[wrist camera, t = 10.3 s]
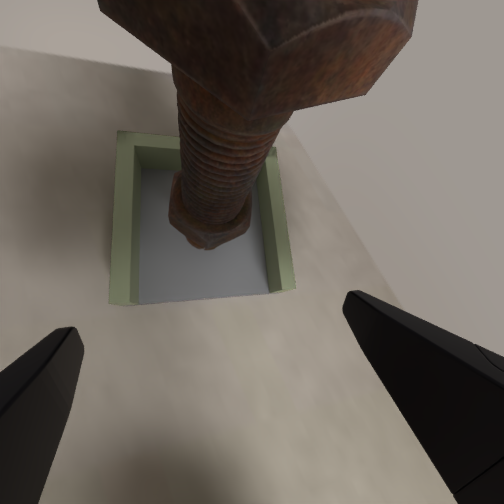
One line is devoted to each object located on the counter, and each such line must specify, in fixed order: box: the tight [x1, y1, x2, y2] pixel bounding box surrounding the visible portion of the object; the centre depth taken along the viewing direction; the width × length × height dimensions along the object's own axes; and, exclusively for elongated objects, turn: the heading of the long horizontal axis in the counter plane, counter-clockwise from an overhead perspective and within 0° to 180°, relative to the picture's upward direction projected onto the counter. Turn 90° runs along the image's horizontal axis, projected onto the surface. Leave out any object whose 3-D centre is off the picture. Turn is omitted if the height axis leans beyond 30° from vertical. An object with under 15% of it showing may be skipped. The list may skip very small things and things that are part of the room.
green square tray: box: [109, 131, 296, 306], centre depth 16 cm, size 11×11×3 cm
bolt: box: [97, 0, 418, 250], centre depth 10 cm, size 6×5×15 cm
